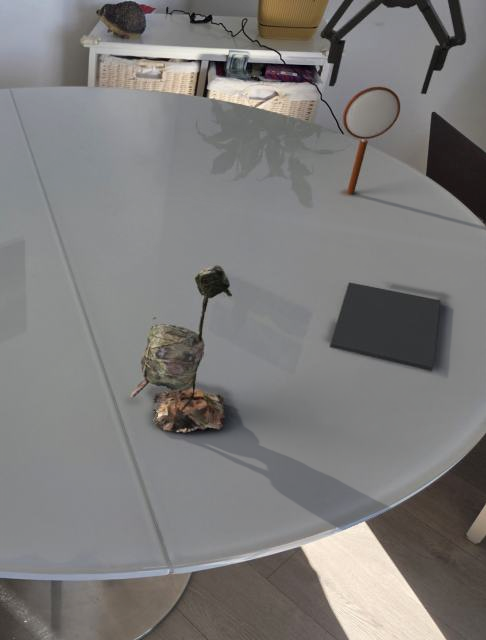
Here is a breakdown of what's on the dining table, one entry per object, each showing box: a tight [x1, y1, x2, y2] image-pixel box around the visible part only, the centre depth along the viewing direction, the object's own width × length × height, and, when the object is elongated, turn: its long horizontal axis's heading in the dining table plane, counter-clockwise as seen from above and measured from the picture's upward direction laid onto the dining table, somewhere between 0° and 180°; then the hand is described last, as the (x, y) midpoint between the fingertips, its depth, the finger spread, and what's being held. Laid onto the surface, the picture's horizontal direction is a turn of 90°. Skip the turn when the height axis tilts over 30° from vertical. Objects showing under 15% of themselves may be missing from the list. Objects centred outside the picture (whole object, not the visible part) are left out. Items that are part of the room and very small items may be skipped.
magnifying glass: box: [342, 86, 401, 196], centre depth 110 cm, size 9×2×20 cm, turn 80°
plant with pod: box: [130, 264, 233, 433], centre depth 72 cm, size 8×11×20 cm
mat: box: [329, 282, 441, 372], centre depth 88 cm, size 12×16×1 cm
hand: (376, 87), depth 104 cm, fingers open, 13 cm apart
